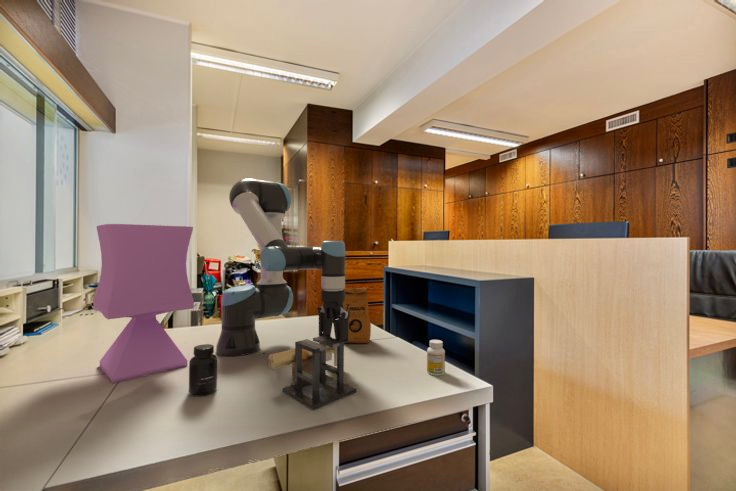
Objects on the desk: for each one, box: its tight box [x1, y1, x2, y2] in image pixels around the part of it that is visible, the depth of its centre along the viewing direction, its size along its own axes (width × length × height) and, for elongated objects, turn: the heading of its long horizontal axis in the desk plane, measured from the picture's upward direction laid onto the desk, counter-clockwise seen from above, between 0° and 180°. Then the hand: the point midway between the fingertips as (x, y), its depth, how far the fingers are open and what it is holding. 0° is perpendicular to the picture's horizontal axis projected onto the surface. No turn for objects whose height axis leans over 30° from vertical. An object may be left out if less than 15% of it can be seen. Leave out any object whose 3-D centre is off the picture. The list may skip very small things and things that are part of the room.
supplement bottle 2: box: [426, 339, 446, 377], centre depth 104 cm, size 5×5×10 cm
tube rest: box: [291, 359, 312, 381], centre depth 101 cm, size 6×8×6 cm
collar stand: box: [282, 335, 357, 411], centre depth 90 cm, size 14×14×13 cm
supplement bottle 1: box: [188, 343, 218, 397], centre depth 90 cm, size 7×7×12 cm
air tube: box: [267, 343, 334, 370], centre depth 101 cm, size 24×4×4 cm, turn 135°
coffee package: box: [343, 287, 372, 344], centre depth 138 cm, size 10×12×22 cm
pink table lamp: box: [93, 223, 195, 384], centre depth 109 cm, size 22×22×45 cm
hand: (332, 362), depth 108 cm, fingers open, 4 cm apart
